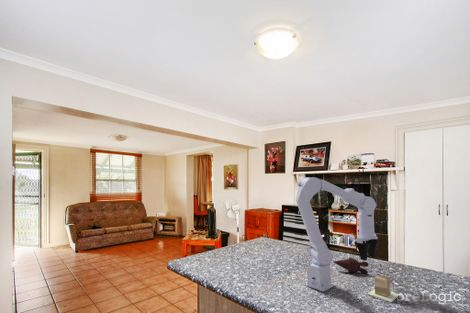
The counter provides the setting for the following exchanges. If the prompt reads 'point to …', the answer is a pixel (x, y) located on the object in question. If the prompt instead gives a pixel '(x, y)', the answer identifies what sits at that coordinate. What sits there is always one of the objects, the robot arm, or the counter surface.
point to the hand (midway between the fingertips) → (367, 258)
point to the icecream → (352, 265)
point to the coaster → (389, 298)
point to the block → (382, 285)
